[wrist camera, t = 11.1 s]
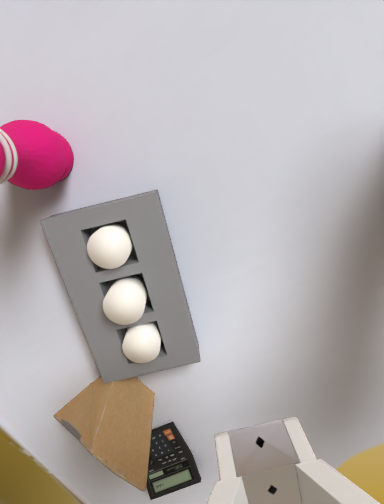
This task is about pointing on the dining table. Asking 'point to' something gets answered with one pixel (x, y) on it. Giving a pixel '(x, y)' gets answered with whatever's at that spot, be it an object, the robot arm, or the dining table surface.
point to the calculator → (169, 462)
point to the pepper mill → (33, 155)
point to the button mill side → (110, 245)
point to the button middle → (125, 300)
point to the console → (100, 279)
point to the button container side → (142, 342)
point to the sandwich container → (114, 425)
